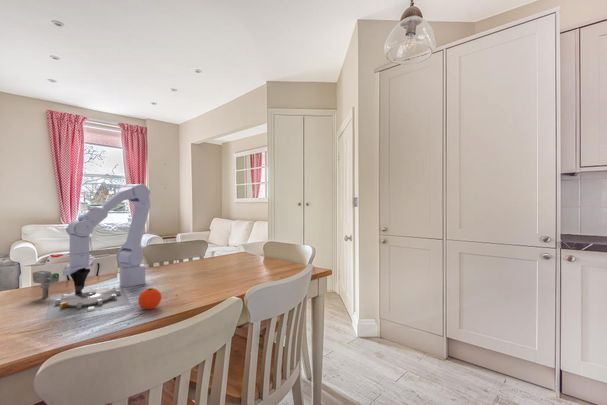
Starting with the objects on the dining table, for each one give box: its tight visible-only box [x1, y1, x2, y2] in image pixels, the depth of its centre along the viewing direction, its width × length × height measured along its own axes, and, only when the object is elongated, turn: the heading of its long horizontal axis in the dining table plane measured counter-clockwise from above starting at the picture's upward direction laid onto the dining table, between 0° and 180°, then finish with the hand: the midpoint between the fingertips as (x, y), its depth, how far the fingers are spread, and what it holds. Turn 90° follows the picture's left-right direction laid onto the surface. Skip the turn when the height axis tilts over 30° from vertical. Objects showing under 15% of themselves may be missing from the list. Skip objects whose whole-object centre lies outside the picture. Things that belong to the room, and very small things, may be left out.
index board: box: [44, 286, 131, 321], centre depth 100 cm, size 22×24×2 cm
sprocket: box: [55, 285, 121, 309], centre depth 101 cm, size 18×19×4 cm
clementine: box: [138, 287, 162, 310], centre depth 96 cm, size 8×7×7 cm
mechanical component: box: [31, 270, 60, 298], centre depth 103 cm, size 3×10×10 cm, turn 79°
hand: (79, 289), depth 103 cm, fingers closed, pressing on sprocket
